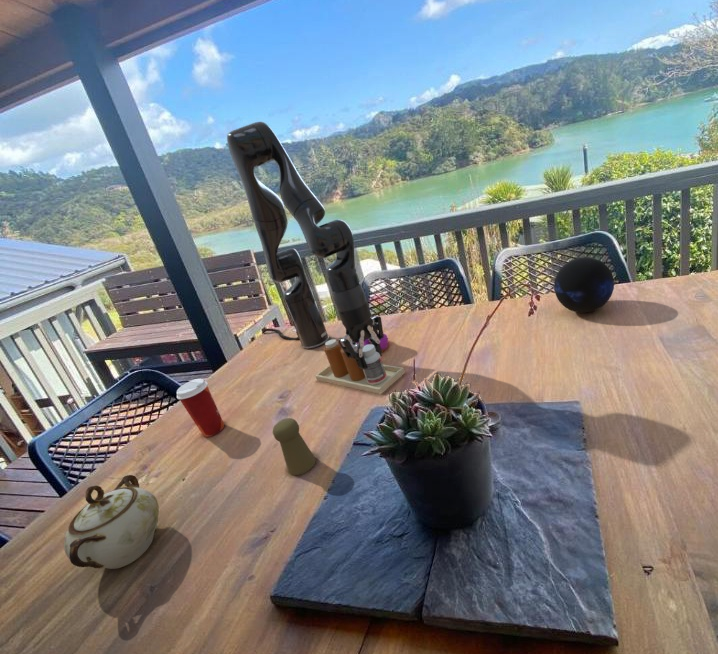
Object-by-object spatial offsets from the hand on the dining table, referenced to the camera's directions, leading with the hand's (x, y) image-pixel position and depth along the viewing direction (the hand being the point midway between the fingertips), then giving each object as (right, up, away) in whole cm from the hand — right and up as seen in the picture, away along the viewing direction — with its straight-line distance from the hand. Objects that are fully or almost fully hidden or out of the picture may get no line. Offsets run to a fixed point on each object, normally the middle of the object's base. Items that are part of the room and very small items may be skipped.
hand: (371, 362), depth 113 cm
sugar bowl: (-43, -33, -31) cm, 62 cm away
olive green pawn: (-13, -20, -21) cm, 32 cm away
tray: (-4, -5, +7) cm, 9 cm away
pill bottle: (+1, -5, +2) cm, 6 cm away
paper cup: (-42, -18, +2) cm, 46 cm away
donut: (-1, +2, +21) cm, 21 cm away
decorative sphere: (+59, +14, +8) cm, 61 cm away
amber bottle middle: (-4, -4, +7) cm, 9 cm away
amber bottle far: (-9, -4, +11) cm, 15 cm away
